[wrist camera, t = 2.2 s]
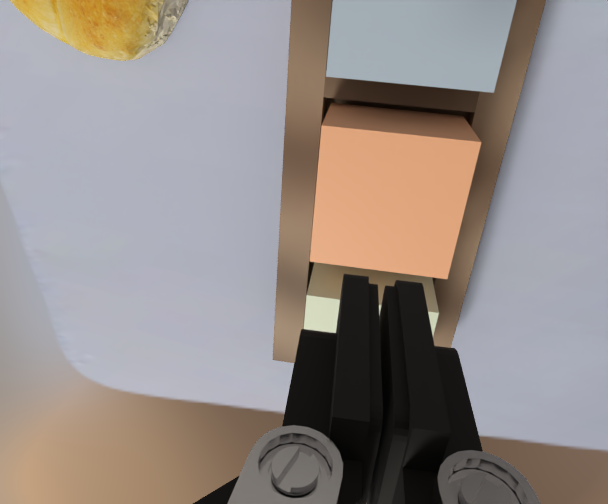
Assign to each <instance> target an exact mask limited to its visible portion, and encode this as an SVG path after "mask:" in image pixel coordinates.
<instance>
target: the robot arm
mask: <svg viewBox="0 0 608 504" xmlns="http://www.w3.org/2000/svg"><path fill="white" fill-rule="evenodd" d="M366 503H367V504H540V502H539V499H538V497H537V495H536V493H535V492H534V490H533V489H532V487H531V486H530V484H529V482H528V481H527V479H526V478H525V477H524V476H523V475H522V474H521V473H520V472H519V471H518V470H517V469H516V468H515V467H513V466H512V465H510V464H509V463H507V462H506V461H504V460H503V459H501V458H499V457H497V456H494V455H492V454H489V453H486V452H483V451H482V447H481V443H480V439H479V435H478V431H477V427H476V423H475V419H474V415H473V411H472V407H471V403H470V399H469V395H468V391H467V387H466V383H465V379H464V375H463V371H462V367H461V363H460V359H459V355H458V353H457V350H456V349H455V348H448V347H440V346H435V345H434V340H433V335H432V329H431V324H430V319H429V314H428V308H427V303H426V298H425V293H424V287H423V284H422V283H418V282H410V281H401V280H396V281H395V284H394V286H387V285H386V286H385V288H384V293H383V299H382V304H381V310H380V316H379V295H378V284H370V283H369V277H368V276H359V275H351V274H344V275H343V281H342V289H341V297H340V305H339V312H338V320H337V328H336V333H330V332H323V331H315V330H307V329H301V332H300V337H299V342H298V348H297V353H296V358H295V363H294V368H293V374H292V379H291V384H290V389H289V394H288V399H287V405H286V410H285V415H284V420H283V425H282V427H279V428H276V429H274V430H271V431H269V432H267V433H266V434H265V435H263V436H262V437H261V438H260V439H258V440H257V442H256V443H255V445H254V446H253V448H252V449H251V451H250V453H249V455H248V458H247V460H246V462H245V465H244V467H243V469H242V471H241V474H240V476H238V477H237V478H235V479H233V480H232V481H230V482H228V483H226V484H225V485H223V486H222V487H220V488H218V489H217V490H215V491H213V492H212V493H210V494H208V495H207V496H205V497H203V498H202V499H200V500H198V501H197V502H195V503H193V504H366Z"/></svg>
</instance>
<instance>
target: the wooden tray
mask: <svg viewBox="0 0 608 504" xmlns="http://www.w3.org/2000/svg"><path fill="white" fill-rule="evenodd" d="M332 2H333V0H292V3H291V22H290V41H289V60H288V79H287V98H286V117H285V136H284V155H283V174H282V193H281V212H280V231H279V250H278V269H277V288H276V307H275V325H274V344H273V360H277V361H284V362H291V363H295V358H296V353H297V348H298V342H299V337H300V332H301V329H304V319H305V307H306V296H307V291H308V287H309V283H310V279H311V274H312V270H313V266H314V262H310V251H311V239H312V228H313V217H314V206H315V194H316V183H317V172H318V160H319V149H320V138H321V126H322V123H323V121H324V119H325V116H326V114H327V112H328V109H329V107H330V105H331V103H339V104H349V105H359V106H369V107H378V108H388V109H398V110H408V111H418V112H428V113H438V114H448V115H458V116H463V117H464V118H465V119H466V121H467V122H468V124H469V125H470V127H471V128H472V129H473V131H474V132H475V134H476V135H477V136H478V138H479V139H480V141H481V146H480V150H479V154H478V158H477V162H476V166H475V170H474V174H473V178H472V182H471V186H470V190H469V194H468V198H467V202H466V206H465V210H464V214H463V218H462V223H461V227H460V231H459V235H458V239H457V243H456V247H455V251H454V255H453V259H452V263H451V267H450V271H449V275H448V279H441V278H434V277H432V279H433V285H434V290H435V295H436V300H437V305H438V311H439V315H438V319H437V323H436V327H435V331H434V335H433V340H434V345H435V346H440V347H448V348H451V344H452V341H453V337H454V333H455V330H456V326H457V323H458V319H459V315H460V312H461V308H462V304H463V301H464V297H465V293H466V290H467V286H468V282H469V279H470V275H471V272H472V268H473V264H474V261H475V257H476V253H477V250H478V246H479V242H480V239H481V235H482V231H483V228H484V224H485V221H486V217H487V213H488V210H489V206H490V202H491V199H492V195H493V191H494V188H495V184H496V180H497V177H498V173H499V170H500V166H501V162H502V159H503V155H504V151H505V148H506V144H507V140H508V137H509V133H510V129H511V126H512V122H513V118H514V115H515V111H516V108H517V104H518V100H519V97H520V93H521V89H522V86H523V82H524V78H525V75H526V71H527V67H528V64H529V60H530V57H531V53H532V49H533V46H534V42H535V38H536V35H537V31H538V27H539V24H540V20H541V16H542V13H543V9H544V6H545V2H546V0H517V2H516V6H515V10H514V14H513V18H512V22H511V26H510V30H509V34H508V38H507V42H506V46H505V50H504V54H503V58H502V62H501V66H500V70H499V74H498V78H497V82H496V86H495V90H494V93H491V92H481V91H470V90H460V89H449V88H439V87H429V86H418V85H408V84H398V83H387V82H377V81H366V80H356V79H346V78H335V77H326V70H327V59H328V47H329V36H330V25H331V13H332Z"/></svg>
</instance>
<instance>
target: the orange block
mask: <svg viewBox="0 0 608 504" xmlns="http://www.w3.org/2000/svg"><path fill="white" fill-rule="evenodd" d="M480 146H481V141H480V139H479V138H478V136H477V135H476V134H475V132H474V131H473V129H472V128H471V127H470V125H469V124H468V122H467V121H466V119H465V118H464V117H463V116H458V115H448V114H438V113H428V112H418V111H408V110H398V109H388V108H378V107H369V106H359V105H349V104H339V103H331V105H330V107H329V109H328V112H327V114H326V116H325V119H324V121H323V123H322V126H321V138H320V149H319V160H318V172H317V183H316V194H315V206H314V217H313V228H312V239H311V251H310V262H317V263H325V264H333V265H340V266H348V267H356V268H364V269H372V270H379V271H387V272H395V273H403V274H410V275H418V276H426V277H434V278H441V279H448V275H449V271H450V267H451V263H452V259H453V255H454V251H455V247H456V243H457V239H458V235H459V231H460V227H461V223H462V218H463V214H464V210H465V206H466V202H467V198H468V194H469V190H470V186H471V182H472V178H473V174H474V170H475V166H476V162H477V158H478V154H479V150H480Z"/></svg>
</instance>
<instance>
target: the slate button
mask: <svg viewBox="0 0 608 504" xmlns="http://www.w3.org/2000/svg"><path fill="white" fill-rule="evenodd" d="M516 2H517V0H333V2H332V13H331V25H330V36H329V47H328V59H327V70H326V77H335V78H346V79H356V80H366V81H377V82H387V83H398V84H408V85H418V86H429V87H439V88H449V89H460V90H470V91H481V92H491V93H494V90H495V86H496V82H497V78H498V74H499V70H500V66H501V62H502V58H503V54H504V50H505V46H506V42H507V38H508V34H509V30H510V26H511V22H512V18H513V14H514V10H515V6H516Z"/></svg>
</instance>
